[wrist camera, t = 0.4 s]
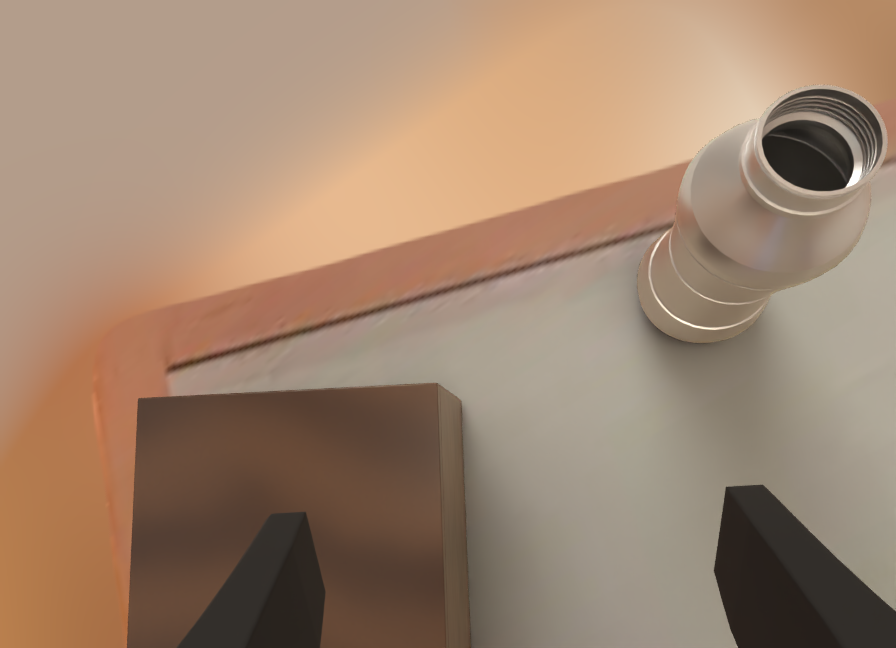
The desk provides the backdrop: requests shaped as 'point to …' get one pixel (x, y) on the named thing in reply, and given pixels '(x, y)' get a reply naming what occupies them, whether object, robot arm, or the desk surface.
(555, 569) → the desk surface
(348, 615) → the cabinet
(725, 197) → the silver metal bottle
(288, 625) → the robot arm
